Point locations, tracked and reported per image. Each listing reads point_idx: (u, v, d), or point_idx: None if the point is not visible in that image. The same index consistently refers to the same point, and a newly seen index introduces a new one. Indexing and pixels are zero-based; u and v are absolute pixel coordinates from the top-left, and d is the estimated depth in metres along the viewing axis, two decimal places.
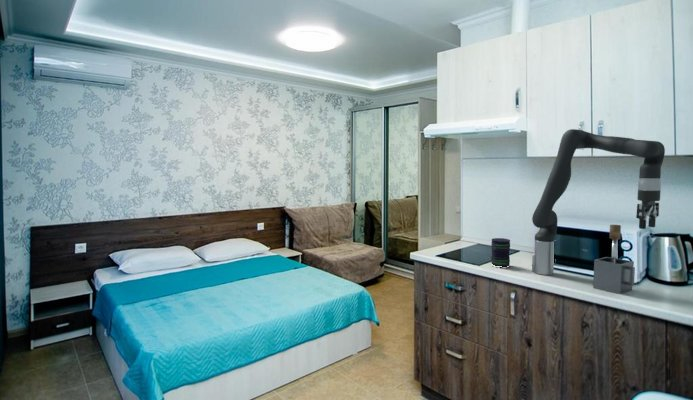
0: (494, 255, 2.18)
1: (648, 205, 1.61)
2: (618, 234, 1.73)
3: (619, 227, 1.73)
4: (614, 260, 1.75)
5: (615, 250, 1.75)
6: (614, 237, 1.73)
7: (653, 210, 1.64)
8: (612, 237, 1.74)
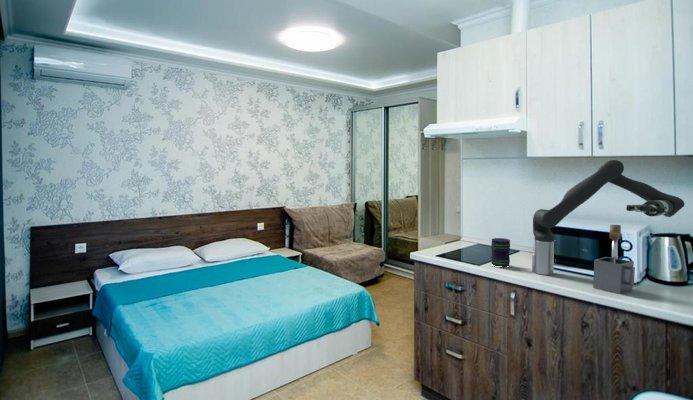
0: (494, 255, 2.18)
1: None
2: (618, 234, 1.73)
3: (619, 227, 1.73)
4: (614, 260, 1.75)
5: (615, 250, 1.75)
6: (614, 237, 1.73)
7: (641, 211, 1.83)
8: (612, 237, 1.74)
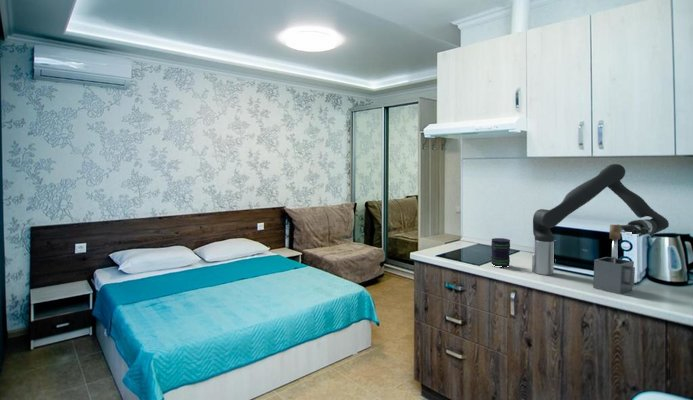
0: (494, 255, 2.18)
1: None
2: (618, 234, 1.73)
3: (619, 227, 1.73)
4: (614, 260, 1.75)
5: (615, 250, 1.75)
6: (614, 237, 1.73)
7: (626, 231, 1.84)
8: (612, 237, 1.74)
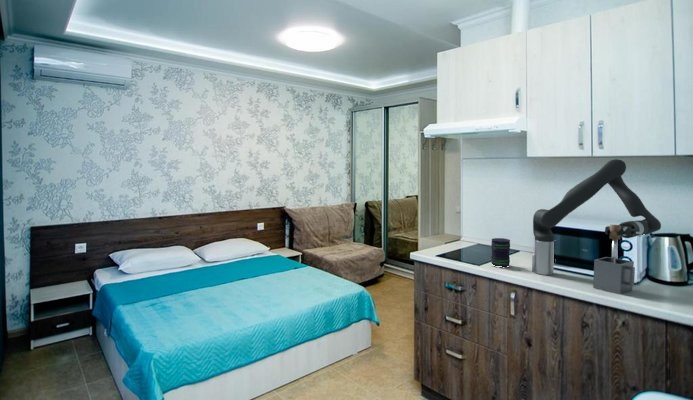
0: (494, 255, 2.18)
1: None
2: None
3: (619, 227, 1.73)
4: (614, 260, 1.75)
5: (615, 250, 1.75)
6: (614, 237, 1.73)
7: None
8: (612, 237, 1.74)
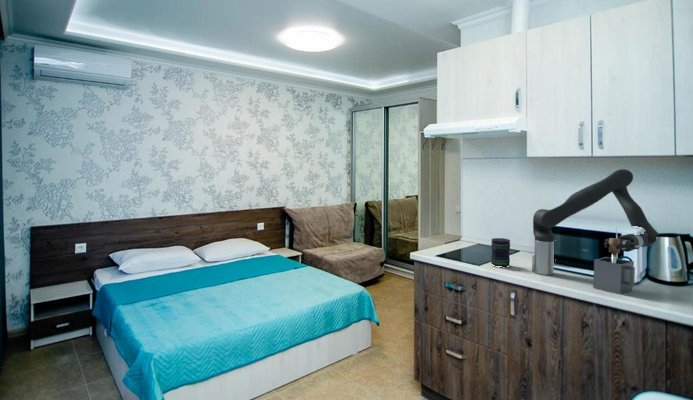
0: (494, 255, 2.18)
1: None
2: None
3: (618, 241, 1.73)
4: None
5: None
6: (613, 251, 1.74)
7: None
8: (611, 251, 1.75)
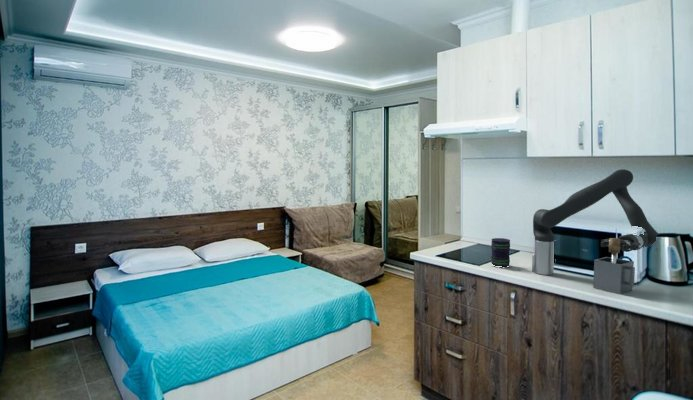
0: (494, 255, 2.18)
1: None
2: (617, 248, 1.73)
3: (618, 241, 1.73)
4: None
5: None
6: (613, 251, 1.74)
7: None
8: (611, 251, 1.75)
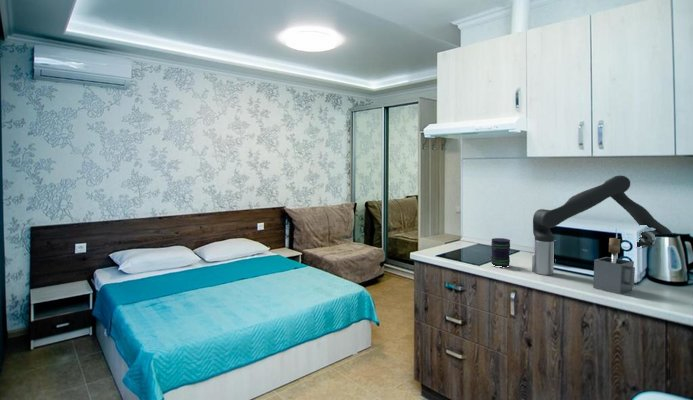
0: (494, 255, 2.18)
1: None
2: (617, 248, 1.73)
3: (618, 241, 1.73)
4: None
5: None
6: (613, 251, 1.74)
7: None
8: (611, 251, 1.75)
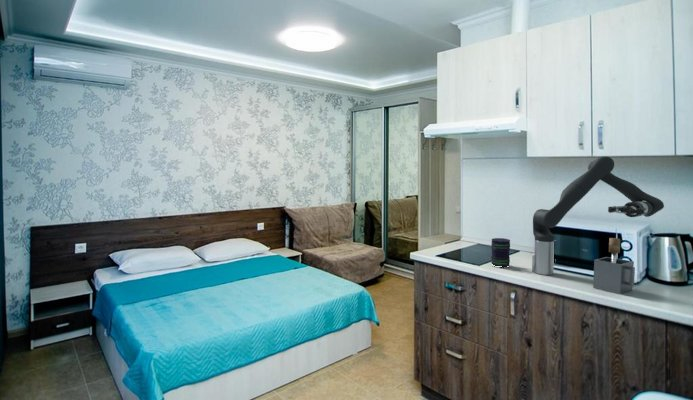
0: (494, 255, 2.18)
1: None
2: (617, 248, 1.73)
3: (618, 241, 1.73)
4: None
5: None
6: (613, 251, 1.74)
7: (622, 212, 1.91)
8: (611, 251, 1.75)
